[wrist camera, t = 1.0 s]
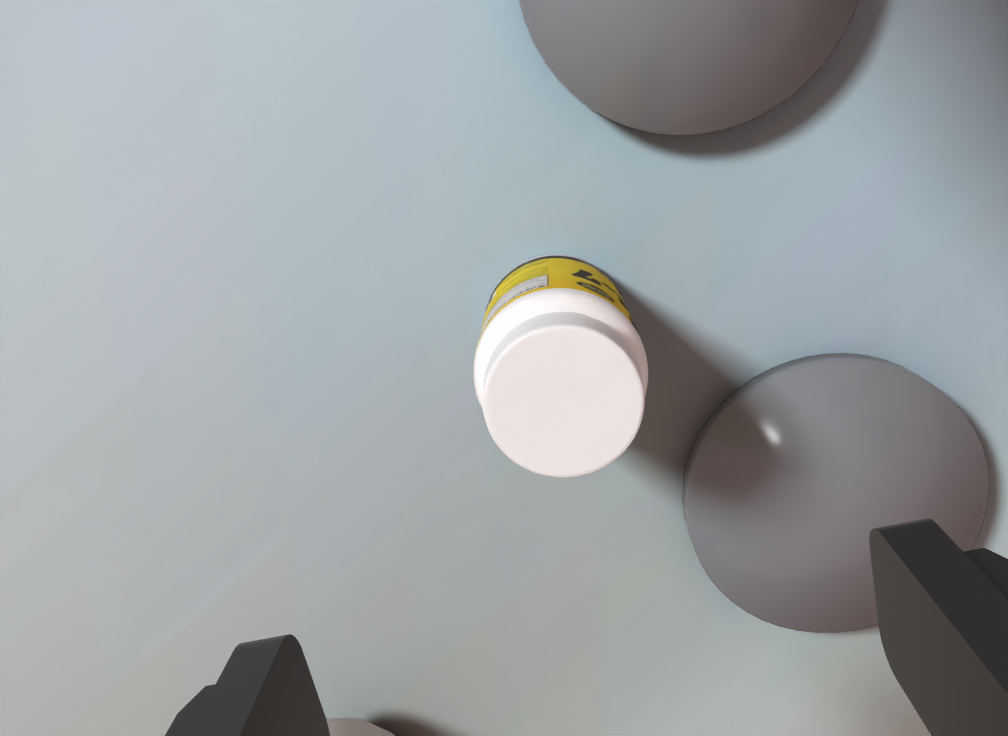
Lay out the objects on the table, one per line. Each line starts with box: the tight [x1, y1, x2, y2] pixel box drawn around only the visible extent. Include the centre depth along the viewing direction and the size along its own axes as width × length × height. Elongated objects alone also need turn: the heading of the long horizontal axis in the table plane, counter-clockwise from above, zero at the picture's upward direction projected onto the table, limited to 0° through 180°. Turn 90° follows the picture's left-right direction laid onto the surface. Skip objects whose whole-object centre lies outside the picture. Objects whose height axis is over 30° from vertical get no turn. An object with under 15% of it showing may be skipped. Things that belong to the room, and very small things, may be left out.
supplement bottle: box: [474, 255, 648, 478], centre depth 25 cm, size 5×5×8 cm
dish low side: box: [683, 353, 989, 633], centre depth 30 cm, size 10×10×1 cm
